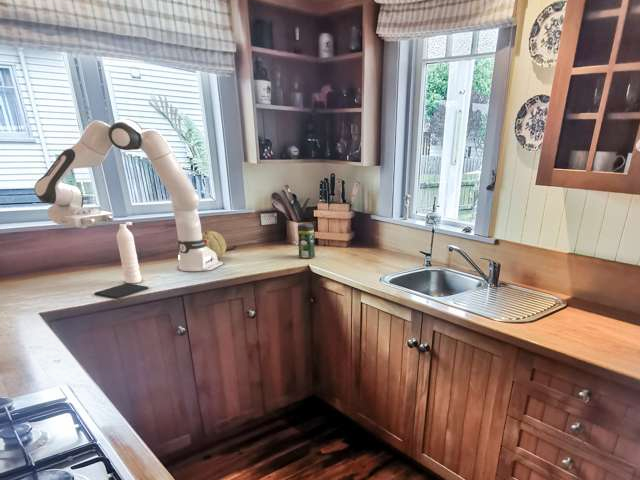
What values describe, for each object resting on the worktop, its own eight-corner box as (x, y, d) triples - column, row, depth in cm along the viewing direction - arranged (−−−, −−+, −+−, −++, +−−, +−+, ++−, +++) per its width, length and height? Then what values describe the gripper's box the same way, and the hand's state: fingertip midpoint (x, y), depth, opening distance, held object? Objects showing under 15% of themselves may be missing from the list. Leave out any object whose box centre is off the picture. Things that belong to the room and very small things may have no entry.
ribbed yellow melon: (231, 256, 256) (228, 229, 250) (221, 262, 243) (218, 233, 237) (205, 255, 257) (201, 227, 251) (193, 261, 243) (190, 232, 237)
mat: (127, 284, 203) (127, 283, 202) (148, 288, 199) (148, 286, 198) (95, 294, 189) (94, 292, 189) (116, 298, 185) (116, 296, 185)
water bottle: (135, 284, 204) (124, 225, 194) (122, 282, 205) (110, 224, 194) (147, 278, 212) (137, 222, 201) (134, 277, 213) (123, 221, 202)
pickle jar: (303, 254, 266) (302, 221, 258) (316, 256, 264) (315, 222, 256) (296, 258, 258) (295, 223, 250) (309, 259, 256) (308, 225, 248)
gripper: (55, 212, 196) (79, 215, 191) (98, 207, 213) (121, 210, 209) (59, 228, 198) (83, 231, 194) (101, 222, 216) (123, 225, 211)
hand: (103, 220), depth 201 cm, fingers open, 8 cm apart
